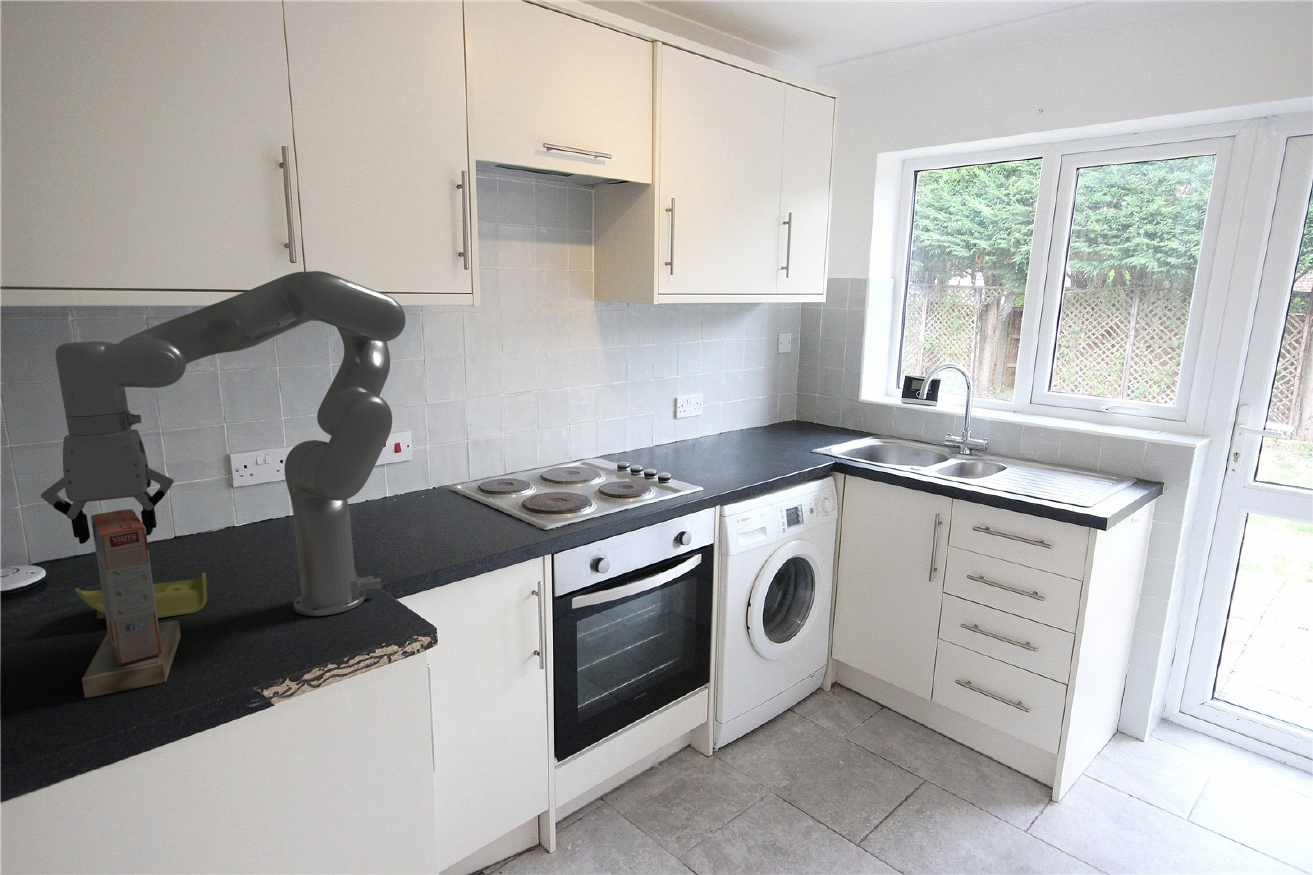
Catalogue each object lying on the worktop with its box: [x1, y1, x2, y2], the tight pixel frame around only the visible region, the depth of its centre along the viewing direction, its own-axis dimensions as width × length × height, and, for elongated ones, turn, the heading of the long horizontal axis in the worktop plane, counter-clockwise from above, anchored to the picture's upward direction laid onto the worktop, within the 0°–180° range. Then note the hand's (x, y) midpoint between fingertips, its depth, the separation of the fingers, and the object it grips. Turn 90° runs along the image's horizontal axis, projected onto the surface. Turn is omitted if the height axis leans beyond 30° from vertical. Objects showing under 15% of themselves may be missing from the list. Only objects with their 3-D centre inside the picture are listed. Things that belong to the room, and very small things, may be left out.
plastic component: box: [74, 572, 208, 620], centre depth 136 cm, size 20×7×10 cm
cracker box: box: [90, 508, 162, 665], centre depth 114 cm, size 14×6×21 cm, turn 42°
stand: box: [81, 619, 182, 699], centre depth 117 cm, size 10×17×3 cm, turn 26°
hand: (117, 536), depth 113 cm, fingers open, 7 cm apart
